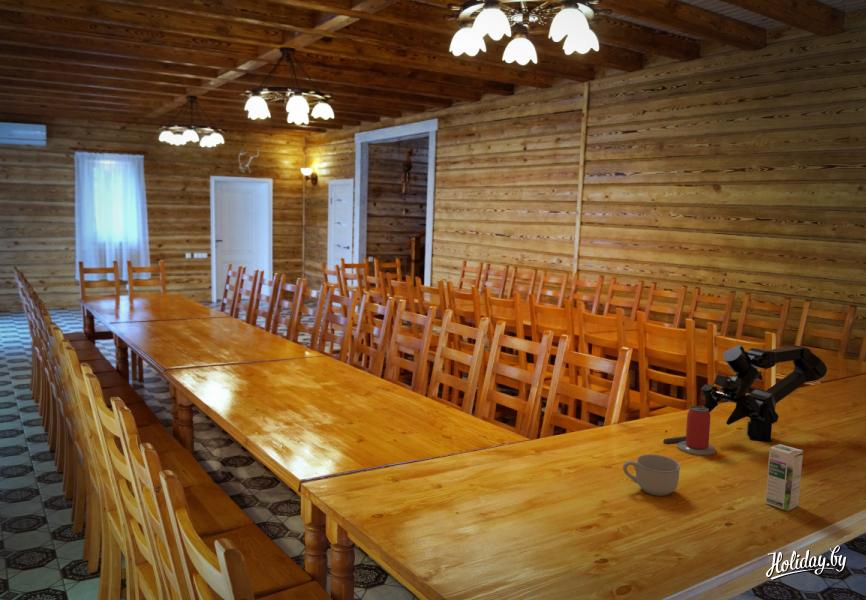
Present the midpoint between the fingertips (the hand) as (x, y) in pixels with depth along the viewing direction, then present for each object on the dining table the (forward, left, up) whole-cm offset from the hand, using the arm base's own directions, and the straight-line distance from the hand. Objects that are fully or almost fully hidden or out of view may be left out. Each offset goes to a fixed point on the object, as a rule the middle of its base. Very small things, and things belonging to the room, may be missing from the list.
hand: (715, 419), depth 206 cm
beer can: (+5, +5, -8) cm, 11 cm away
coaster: (+5, +5, -8) cm, 11 cm away
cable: (+10, -1, -9) cm, 13 cm away
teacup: (+18, +43, -9) cm, 47 cm away
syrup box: (-13, +41, -9) cm, 44 cm away
